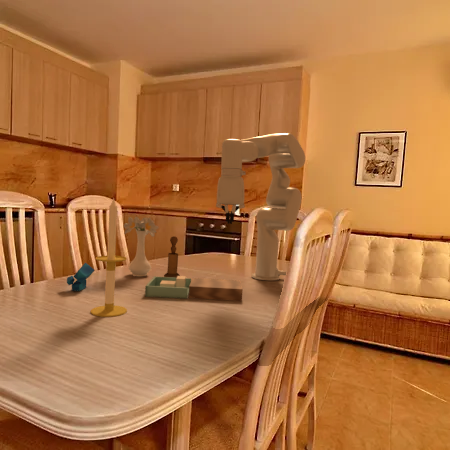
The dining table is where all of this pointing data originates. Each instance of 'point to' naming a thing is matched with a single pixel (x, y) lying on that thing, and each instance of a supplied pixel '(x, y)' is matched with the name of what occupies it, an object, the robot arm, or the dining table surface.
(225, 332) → the dining table surface
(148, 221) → the flower vase
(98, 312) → the candle
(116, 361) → the dining table surface
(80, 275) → the crystal
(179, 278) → the tile
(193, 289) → the board
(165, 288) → the tray
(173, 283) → the tile
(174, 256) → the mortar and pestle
